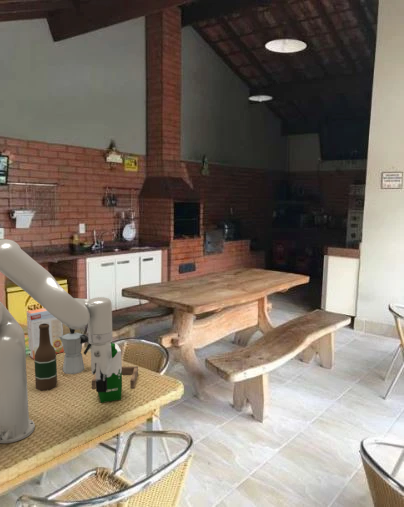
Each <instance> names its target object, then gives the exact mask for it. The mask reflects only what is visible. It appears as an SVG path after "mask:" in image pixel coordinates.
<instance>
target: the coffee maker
mask: <svg viewBox="0 0 404 507" xmlns="http://www.w3.org/2000/svg"><path fill="white" fill-rule="evenodd" d="M68 328H69V327H68ZM58 337H59V338H60V339H61V341H62V343H63V349H64V352H63V353H64V358H63V364H62V365H63V366H62V372H63V373H64V374H65V375H66V374H67V375H76V374H80V373H82V372H83V371H85V364H84V360H83V358H84V357H83V354H84V355H87V353H88V352H89V350H90V348H91V344H90V343H89V342H88V335H86V334H83V333H80V332H76V330H74V329H71V328H69V333H65V334H63V336H58ZM85 343H88V344H87V346H86V348H85V350H84V352H83V354H82V351H83V350H82V349H83V344H85Z"/></svg>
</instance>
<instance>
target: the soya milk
mask: <svg viewBox="0 0 404 507" xmlns="http://www.w3.org/2000/svg"><path fill="white" fill-rule="evenodd" d="M111 351H112V366H111V368H110V370H109V372H108V374H107V391H106V392H97V394H98V398H99V402H100V403H108V402H113V401H121V400H122V391H123V375H122V367H123V365H122V363H123V362H122V350H121V348H120V346H119V345H118V344H117V343H114V342H111Z"/></svg>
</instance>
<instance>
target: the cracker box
mask: <svg viewBox="0 0 404 507" xmlns="http://www.w3.org/2000/svg"><path fill="white" fill-rule="evenodd" d="M40 324H49V336H50V342H51V345H52V346H53V347H54V349H55V351H56V355H57V354H61V353H64V349H63V343H62V341H61V339H60V338H59V337H58V336H63V335H64V328H63V326H64V324H63V323H62V322H60V321H59V320H58V319H57V318H55V317H54V316H53V315H52V314H50V313H49V312H48V311H47V310H46V309H45V308H44V307H42V308H36V309H31V310H26V325H27V338H28V337H29V340H27V341H28V350H29V349H30V350H31V354H30V355H29V354H28V357H30V358H32V359H33V360H35V353H36V351H37V349H38V347H39V338H40V329H39V325H40Z"/></svg>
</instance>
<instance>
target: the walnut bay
mask: <svg viewBox="0 0 404 507" xmlns="http://www.w3.org/2000/svg"><path fill="white" fill-rule="evenodd" d="M138 375H139V367H138V366H136V365H135V366H122V376H131V377H130V381H129V385H130V387H129V388H130V389H135V385H136V381H137V378H138ZM91 389H95V390H96V373H95V374H94V375H93V378H92V380H91Z"/></svg>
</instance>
